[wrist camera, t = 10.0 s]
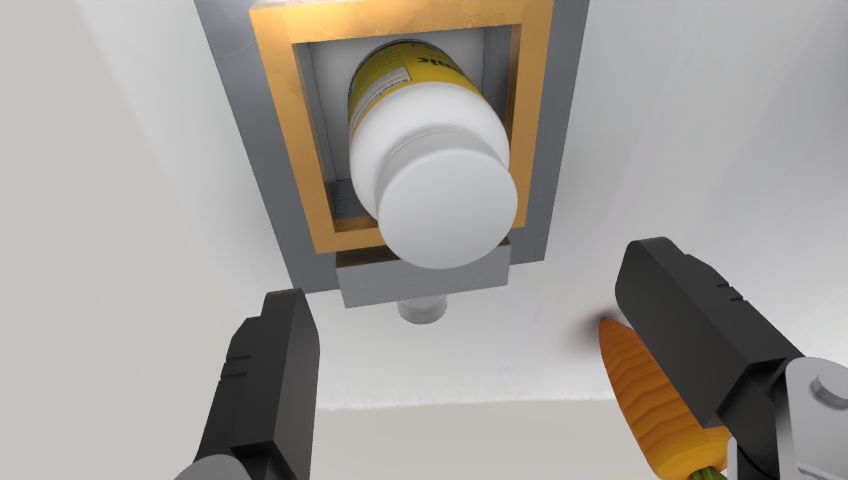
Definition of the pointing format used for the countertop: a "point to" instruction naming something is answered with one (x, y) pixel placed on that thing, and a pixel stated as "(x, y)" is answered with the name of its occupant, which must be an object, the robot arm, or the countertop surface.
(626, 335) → the carrot
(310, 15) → the grey drawer
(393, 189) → the supplement bottle
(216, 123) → the countertop surface
